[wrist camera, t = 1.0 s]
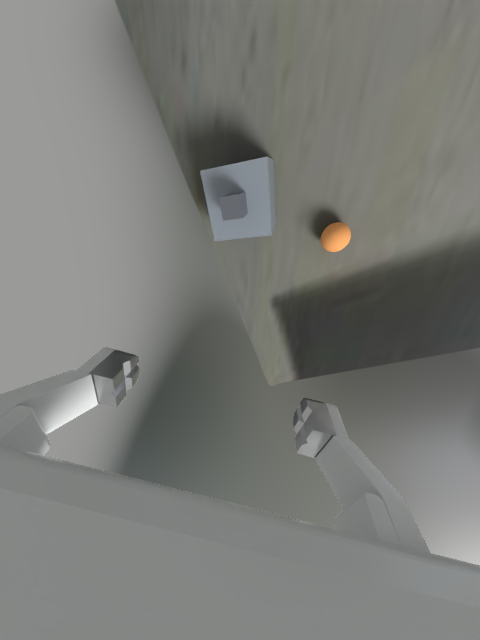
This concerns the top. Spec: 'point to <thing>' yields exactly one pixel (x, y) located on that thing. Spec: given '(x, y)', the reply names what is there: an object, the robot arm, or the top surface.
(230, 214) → the grey box with knob
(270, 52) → the top surface
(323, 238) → the ball
